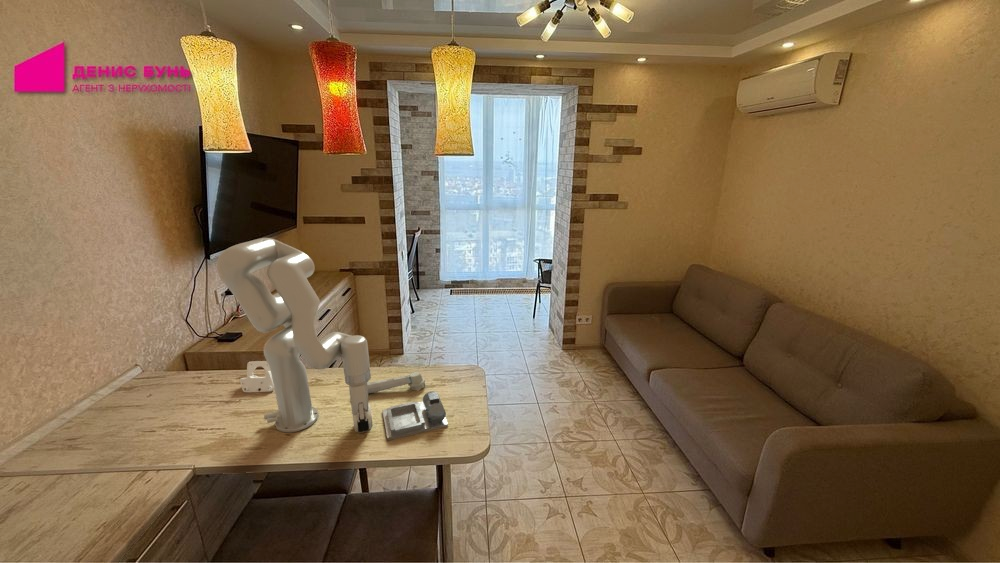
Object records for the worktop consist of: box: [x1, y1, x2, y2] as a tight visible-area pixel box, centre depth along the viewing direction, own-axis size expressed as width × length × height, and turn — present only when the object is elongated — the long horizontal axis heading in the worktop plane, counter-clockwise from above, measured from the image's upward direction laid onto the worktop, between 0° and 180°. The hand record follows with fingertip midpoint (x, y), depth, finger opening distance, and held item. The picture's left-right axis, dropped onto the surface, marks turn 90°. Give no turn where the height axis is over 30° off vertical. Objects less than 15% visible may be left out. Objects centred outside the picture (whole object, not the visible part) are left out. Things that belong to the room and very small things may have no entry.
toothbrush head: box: [367, 371, 426, 395], centre depth 145 cm, size 5×7×25 cm
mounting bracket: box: [239, 360, 275, 393], centre depth 146 cm, size 12×6×11 cm, turn 96°
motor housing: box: [382, 390, 449, 441], centre depth 128 cm, size 19×15×8 cm
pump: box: [352, 403, 374, 434], centre depth 124 cm, size 6×6×8 cm
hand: (363, 423), depth 125 cm, fingers open, 6 cm apart
